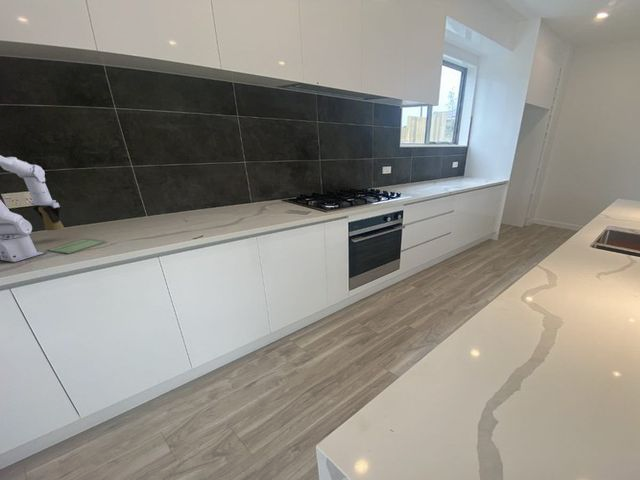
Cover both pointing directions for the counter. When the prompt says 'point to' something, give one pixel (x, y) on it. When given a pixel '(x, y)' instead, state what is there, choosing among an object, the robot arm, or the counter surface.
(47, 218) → the cork
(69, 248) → the napkin
